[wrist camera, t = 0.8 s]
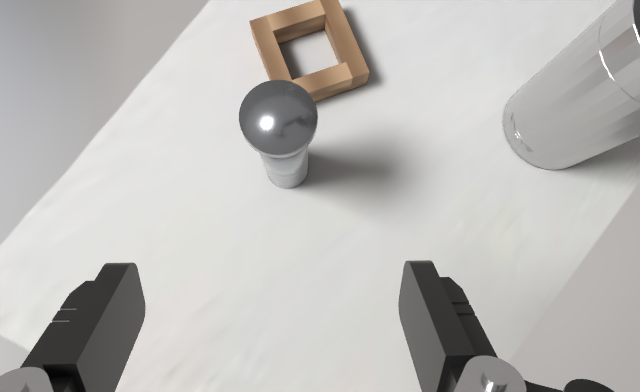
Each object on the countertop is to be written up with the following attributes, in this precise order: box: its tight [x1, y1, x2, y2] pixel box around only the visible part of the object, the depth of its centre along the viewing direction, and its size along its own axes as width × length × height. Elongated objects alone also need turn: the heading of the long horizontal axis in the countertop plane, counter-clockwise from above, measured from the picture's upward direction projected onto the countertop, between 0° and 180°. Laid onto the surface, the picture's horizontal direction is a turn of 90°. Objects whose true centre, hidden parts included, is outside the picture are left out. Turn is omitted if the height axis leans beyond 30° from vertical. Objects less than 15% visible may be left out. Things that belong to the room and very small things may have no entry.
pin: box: [239, 80, 318, 188], centre depth 34 cm, size 5×5×13 cm
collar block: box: [250, 0, 370, 102], centre depth 42 cm, size 9×9×2 cm
